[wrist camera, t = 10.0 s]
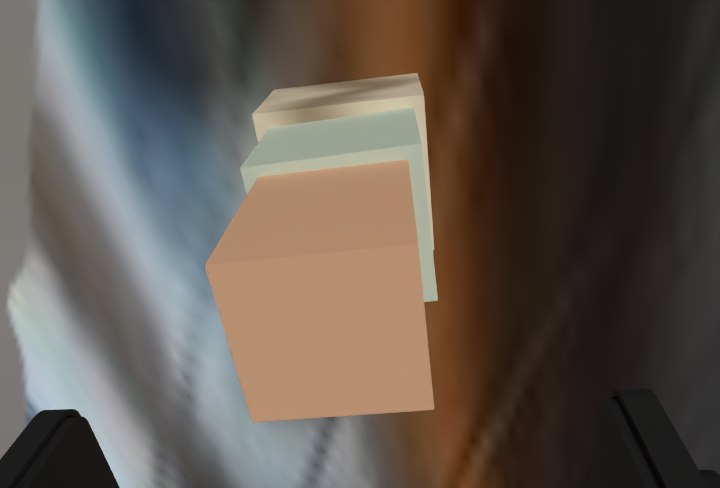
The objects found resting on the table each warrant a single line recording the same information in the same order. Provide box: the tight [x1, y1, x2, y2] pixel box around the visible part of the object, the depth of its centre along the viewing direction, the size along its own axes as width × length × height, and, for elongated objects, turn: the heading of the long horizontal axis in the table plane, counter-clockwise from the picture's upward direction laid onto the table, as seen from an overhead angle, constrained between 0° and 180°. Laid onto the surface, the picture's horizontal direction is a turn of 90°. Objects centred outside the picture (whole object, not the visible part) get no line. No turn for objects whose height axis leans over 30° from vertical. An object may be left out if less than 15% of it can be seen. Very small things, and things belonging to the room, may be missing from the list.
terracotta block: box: [205, 159, 434, 422], centre depth 16 cm, size 5×5×6 cm
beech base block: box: [252, 73, 434, 250], centre depth 26 cm, size 7×7×5 cm
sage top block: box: [240, 107, 438, 302], centre depth 21 cm, size 6×6×5 cm
